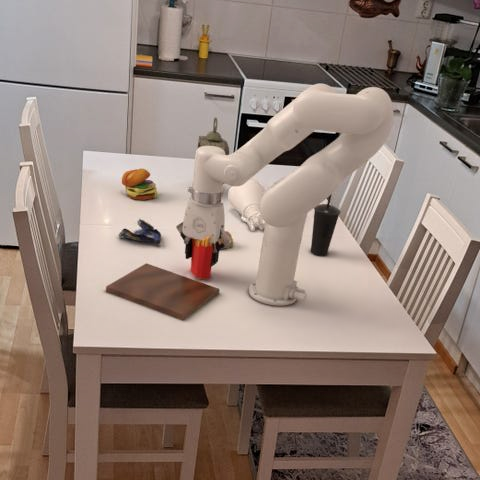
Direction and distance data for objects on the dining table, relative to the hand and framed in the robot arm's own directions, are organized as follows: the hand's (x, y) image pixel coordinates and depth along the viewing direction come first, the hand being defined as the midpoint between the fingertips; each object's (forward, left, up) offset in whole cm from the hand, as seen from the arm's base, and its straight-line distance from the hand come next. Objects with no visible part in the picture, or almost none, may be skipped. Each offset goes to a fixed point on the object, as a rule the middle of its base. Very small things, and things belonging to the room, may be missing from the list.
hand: (201, 260), depth 210 cm
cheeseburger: (+44, -38, -5) cm, 58 cm away
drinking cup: (-19, -38, -5) cm, 43 cm away
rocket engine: (+9, -45, -5) cm, 46 cm away
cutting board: (+2, +15, -4) cm, 16 cm away
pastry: (+6, -21, -5) cm, 22 cm away
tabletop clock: (+30, -59, -5) cm, 66 cm away
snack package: (+24, -9, -5) cm, 26 cm away
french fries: (0, 0, -4) cm, 4 cm away
